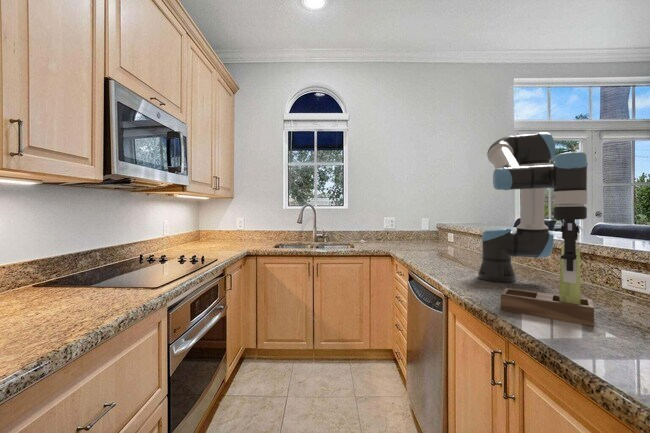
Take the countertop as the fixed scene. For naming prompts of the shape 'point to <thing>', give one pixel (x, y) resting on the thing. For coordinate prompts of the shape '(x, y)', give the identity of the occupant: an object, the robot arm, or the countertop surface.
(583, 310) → the brown wooden slotted holder
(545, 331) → the countertop surface
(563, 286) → the tube
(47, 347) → the countertop surface
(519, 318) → the countertop surface
